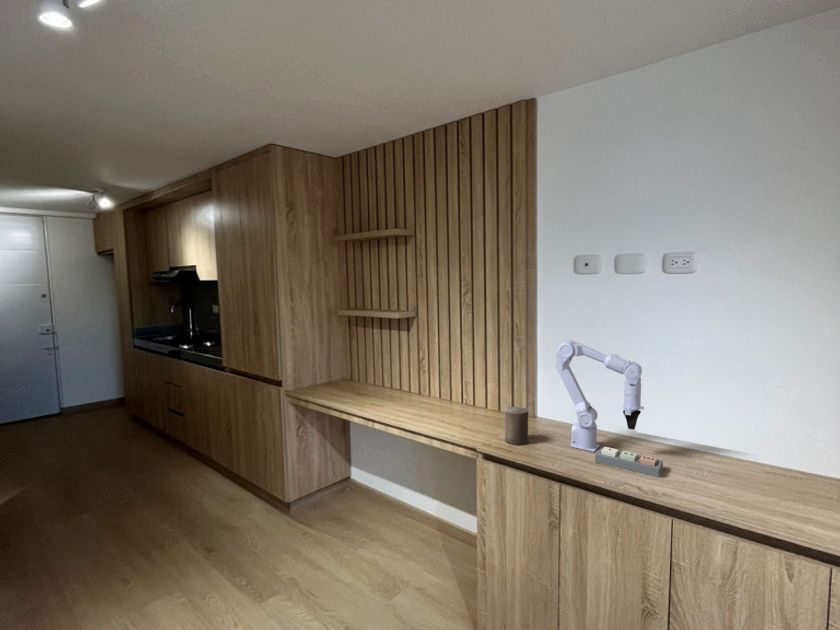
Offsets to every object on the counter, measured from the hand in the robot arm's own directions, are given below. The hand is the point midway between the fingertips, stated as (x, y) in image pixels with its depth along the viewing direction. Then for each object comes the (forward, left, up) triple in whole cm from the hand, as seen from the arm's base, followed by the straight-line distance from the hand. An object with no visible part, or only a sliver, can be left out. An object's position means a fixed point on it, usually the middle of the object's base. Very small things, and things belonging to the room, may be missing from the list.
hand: (631, 428), depth 167 cm
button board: (+2, -11, -10) cm, 15 cm away
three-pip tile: (+8, -11, -10) cm, 17 cm away
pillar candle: (-42, -13, -11) cm, 45 cm away
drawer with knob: (-5, -11, -10) cm, 16 cm away
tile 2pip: (+1, -11, -10) cm, 15 cm away
